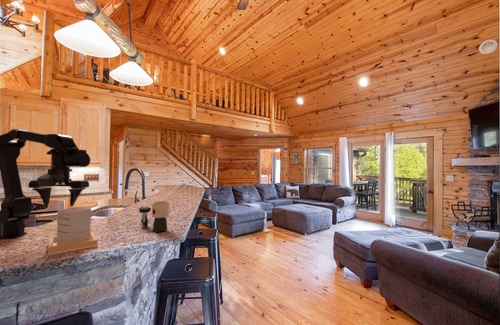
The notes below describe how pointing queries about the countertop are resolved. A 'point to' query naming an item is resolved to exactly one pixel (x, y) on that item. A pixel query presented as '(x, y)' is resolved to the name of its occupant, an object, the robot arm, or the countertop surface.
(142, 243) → the countertop surface
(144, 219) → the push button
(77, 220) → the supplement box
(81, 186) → the robot arm
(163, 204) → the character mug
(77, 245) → the shallow wooden tray
